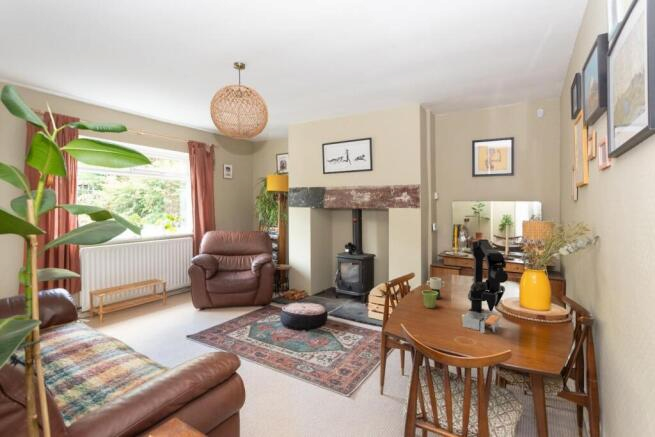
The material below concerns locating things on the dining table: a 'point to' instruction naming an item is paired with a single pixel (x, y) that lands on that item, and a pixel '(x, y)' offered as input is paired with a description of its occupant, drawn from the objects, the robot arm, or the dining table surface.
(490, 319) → the panel
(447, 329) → the dining table surface
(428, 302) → the plant pot
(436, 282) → the character mug
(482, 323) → the block
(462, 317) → the lynch pin
